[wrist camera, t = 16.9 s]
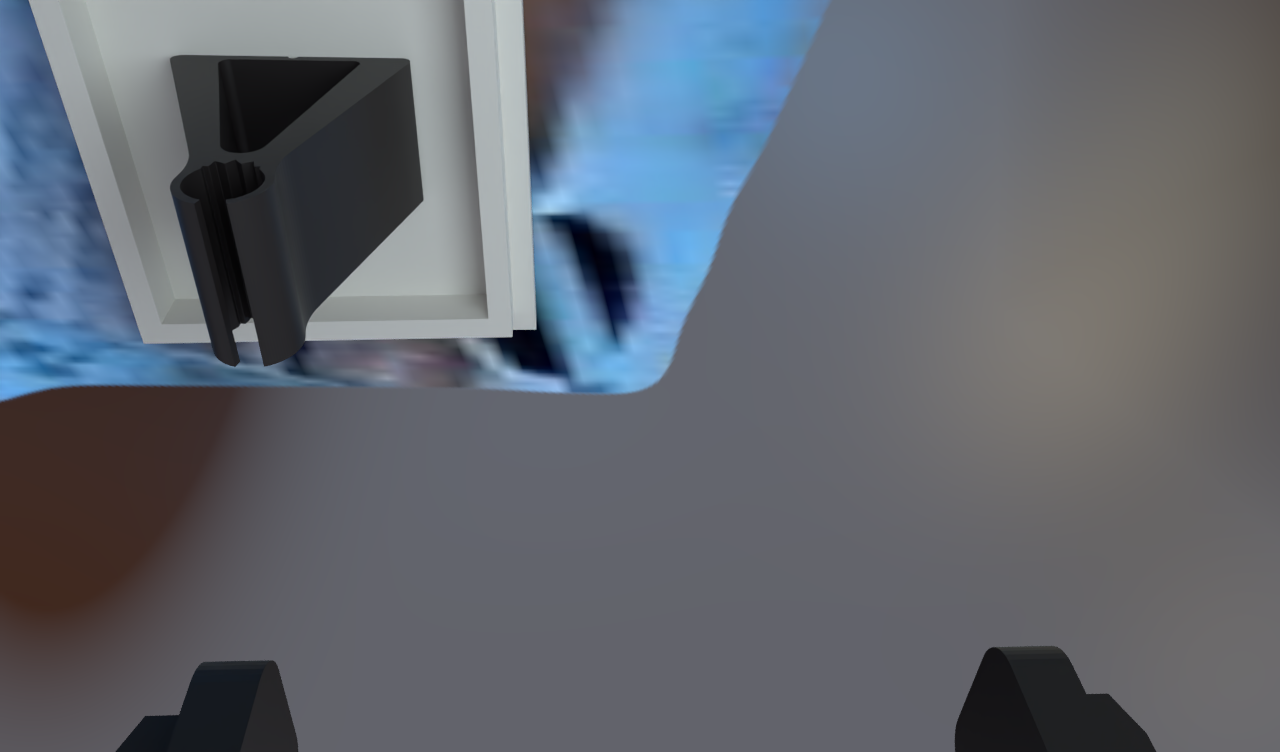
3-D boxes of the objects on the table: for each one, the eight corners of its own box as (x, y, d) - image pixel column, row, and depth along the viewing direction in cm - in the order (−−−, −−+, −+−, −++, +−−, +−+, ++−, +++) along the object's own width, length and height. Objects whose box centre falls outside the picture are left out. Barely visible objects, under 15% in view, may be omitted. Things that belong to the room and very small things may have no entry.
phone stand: (206, 194, 42) (106, 367, 33) (172, 53, 38) (49, 201, 29) (424, 197, 43) (389, 366, 33) (412, 58, 39) (368, 204, 30)
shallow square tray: (149, 321, 47) (126, 362, 45) (-6, -156, 35) (-50, -136, 32) (536, 315, 48) (535, 354, 46) (516, -147, 36) (514, -128, 34)
